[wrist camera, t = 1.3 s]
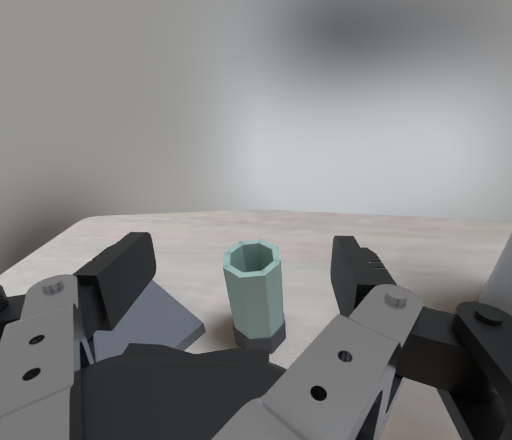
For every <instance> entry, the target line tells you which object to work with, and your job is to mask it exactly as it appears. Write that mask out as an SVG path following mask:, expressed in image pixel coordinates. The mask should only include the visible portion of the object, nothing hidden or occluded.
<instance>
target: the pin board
mask: <svg viewBox="0 0 512 440" xmlns="http://www.w3.org/2000/svg"><path fill="white" fill-rule="evenodd" d="M204 332H206V331H205V328H204V324H203V323H202V322H201V321H200V320H199V319H198V318H197V317H195V316H194V315H193V314H192V313H191V312H189V311H188V310H187V309H186V308H185V307H184V306H182V305H181V304H180V303H179V302H178V301H177V300H175V299H174V298H173V297H172V296H171V295H169V294H168V293H167V292H166V291H165V290H164V289H162V288H161V287H160V286H159V285H158V284H156V283H155V282H154V281H153V280H151V281H150V283H149V284H148V285H147V287H146V288H145V289H144V290H143V292H142V293H141V294H140V296H139V297H138V298H137V299H136V301H135V302H134V303H133V305H132V306H131V307H130V308H129V310H128V311H127V312H126V314H125V315H124V316H123V317H122V319H121V320H120V321H119V323H118V324H117V325H116V327H115V328H114V329H113V330H112V331H100V330H97V331H96V332H95V333H94V336H95V339H96V346H97V355H98V361H101V360H104V359H107V358H109V357H113V356H117V355H122V354H123V352H124V351H125V349H126V348H127V346H128V344H129V343H140V344H159V345H165V346H169V347H172V348H175V349H178V350H182V351H184V350H185V349H186V348H187V347H188V346H190V345H191V344H192V343H193V342H194V341H195V340H196V339H198V338H199V337H200V336H201V335H202V334H203V333H204Z"/></svg>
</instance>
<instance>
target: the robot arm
mask: <svg viewBox="0 0 512 440" xmlns="http://www.w3.org/2000/svg"><path fill="white" fill-rule="evenodd" d="M155 272H156V260H155V255H154V249H153V243H152V238H151V235H150V234H149V233H148V232H130V233H129V234H127V235H126V236H125V237H124V238H122V239H121V240H120V241H119V242H117V243H116V244H114V245H112V246H110V247H108V248H106V249H105V250H104V251H102V252H101V253H100V254H99V255H97V256H96V257H95V258H93V259H92V261H89V262H88V263H87V264H86V265H84V266H83V267H82V268H80V269H79V270H78V271H77V272H75V273H74V274H73V275H67V274H65V275H58V276H53V277H50V278H47V279H44V280H42V281H40V282H38V283H36V284H35V285H33V286H32V287H31V288H30V289H29V290H28V291H27V293H26V294H25V295H18V296H12V297H7V296H6V294H5V292H4V289H3V287H2V286H1V285H0V440H380V437H381V434H382V431H383V428H384V425H385V423H386V421H387V418H388V416H389V414H390V411H391V409H392V407H393V405H394V402H395V400H396V398H397V396H398V393H399V391H400V389H401V387H402V384H403V382H404V380H405V378H408V379H411V380H414V381H417V382H420V383H423V384H426V385H429V386H432V387H435V388H437V391H438V393H439V395H440V397H441V399H442V401H443V403H444V405H445V407H446V409H447V411H448V413H449V415H450V417H451V419H452V421H453V423H454V425H455V427H456V429H457V431H458V433H459V435H460V437H461V439H462V440H512V234H511V236H510V238H509V240H508V242H507V244H506V246H505V248H504V250H503V252H502V254H501V256H500V258H499V260H498V262H497V264H496V266H495V268H494V270H493V272H492V273H491V275H490V277H489V279H488V281H487V283H486V285H485V287H484V289H483V291H482V293H481V295H480V297H479V300H478V302H464V303H461V304H459V305H458V306H457V308H456V312H455V314H451V313H446V312H442V311H437V310H433V309H429V308H426V307H423V303H422V301H421V299H420V298H419V297H418V296H417V295H416V294H415V293H413V292H412V291H410V290H408V289H406V288H403V287H400V286H397V284H396V283H395V281H394V280H393V278H392V277H391V275H390V274H389V272H388V271H387V269H385V266H384V265H383V263H381V260H380V259H379V257H378V256H377V254H375V253H374V252H372V251H371V250H369V249H368V248H360V246H359V245H358V243H357V241H356V240H355V238H354V236H334V239H333V249H332V260H331V283H332V286H333V290H334V293H335V297H336V300H337V304H338V307H339V310H340V314H338V315H337V316H335V317H334V319H333V320H332V321H331V322H330V323H329V324H328V325H327V326H326V327H325V329H324V330H323V331H322V332H321V333H320V334H319V335H318V336H317V337H316V338H315V340H314V341H313V342H312V343H311V344H310V345H309V346H308V347H307V348H306V350H305V351H304V352H303V353H302V354H301V355H300V356H299V357H298V358H297V360H296V361H295V362H294V363H293V364H292V365H291V366H290V367H289V368H288V369H285V368H283V367H280V366H278V365H276V364H273V363H270V362H269V350H253V349H234V348H233V349H227V350H221V351H214V352H208V353H201V354H192V353H188V352H185V351H182V350H178V349H175V348H172V347H169V346H165V345H159V344H140V343H129V344H128V346H127V348H126V349H125V351H124V352H123V354H122V355H117V356H113V357H109V358H107V359H104V360H101V361H98V355H97V346H96V339H95V336H94V333H95V332H96V331H97V330H100V331H112V330H113V329H114V328H115V327H116V325H117V324H118V323H119V321H120V320H121V319H122V317H123V316H124V315H125V314H126V312H127V311H128V310H129V308H130V307H131V306H132V305H133V303H134V302H135V301H136V299H137V298H138V297H139V296H140V294H141V293H142V292H143V290H144V289H145V288H146V287H147V285H148V284H149V283H150V281H151V280H152V279H153V277H154V275H155Z"/></svg>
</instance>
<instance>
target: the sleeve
mask: <svg viewBox="0 0 512 440" xmlns="http://www.w3.org/2000/svg"><path fill="white" fill-rule="evenodd" d="M223 270H224V275H225V280H226V285H227V291H228V296H229V301H230V306H231V311H232V316H233V321H234V326H233V329H234V334H235V339H236V343H237V344H238V345H240V346H241V347H242V348H243V349H253V350H269V353H273V352H274V351H275V350H276V349H277V348H278V346H279V345H280V344H281V343H282V342H283V341H284V339H285V338H286V331H285V320H284V314H283V296H282V274H281V260H280V255H279V250H278V247H276V246H274V245H272V244H270V243H268V242H266V241H263V240H251V241H240V242H239V243H237V244H236V245H234V246H233V247H231V248H230V249H229V250H227V251H226V252H224V263H223Z"/></svg>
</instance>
